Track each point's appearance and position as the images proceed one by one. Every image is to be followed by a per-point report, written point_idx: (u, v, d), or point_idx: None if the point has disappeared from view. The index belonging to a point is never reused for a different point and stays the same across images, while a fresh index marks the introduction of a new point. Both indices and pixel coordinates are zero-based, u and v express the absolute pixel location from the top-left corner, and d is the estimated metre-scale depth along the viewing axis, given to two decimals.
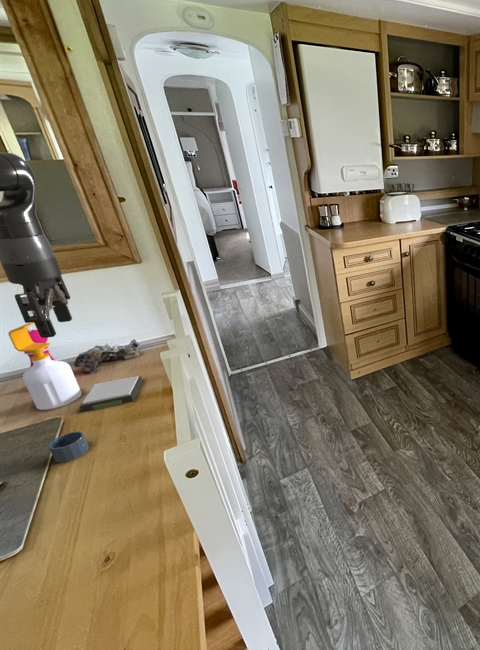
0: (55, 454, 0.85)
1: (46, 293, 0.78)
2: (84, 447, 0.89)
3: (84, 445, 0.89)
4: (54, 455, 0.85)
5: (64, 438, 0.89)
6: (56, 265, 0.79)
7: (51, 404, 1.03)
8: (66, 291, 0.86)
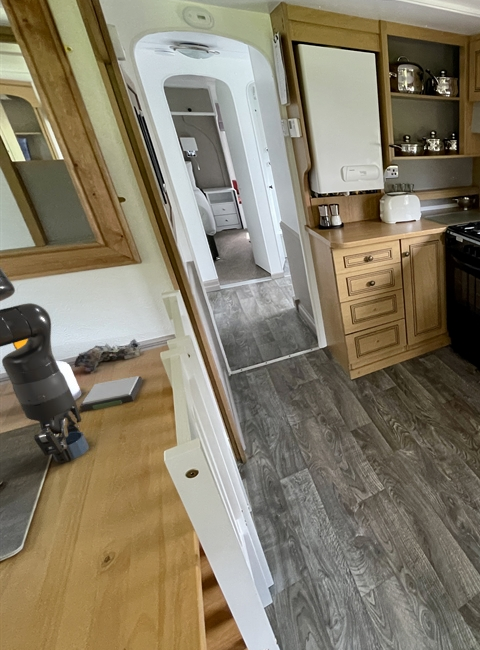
0: None
1: (61, 423, 0.84)
2: (84, 447, 0.89)
3: (84, 445, 0.89)
4: (54, 455, 0.85)
5: None
6: (70, 396, 0.85)
7: None
8: (78, 414, 0.91)
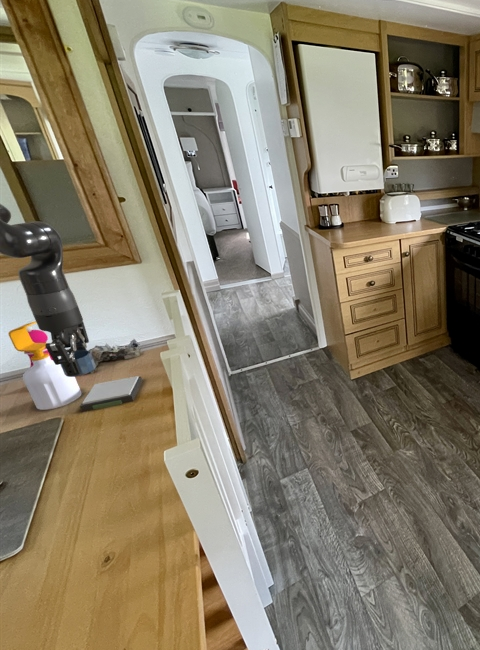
0: None
1: (70, 337, 0.91)
2: (91, 364, 0.96)
3: (90, 362, 0.96)
4: (64, 368, 0.93)
5: None
6: (79, 313, 0.92)
7: (51, 404, 1.03)
8: (86, 335, 0.99)
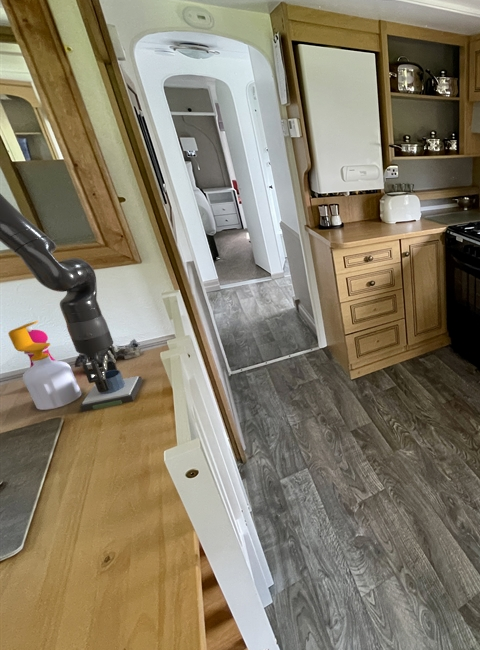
0: None
1: (103, 358, 1.03)
2: (121, 382, 1.08)
3: (121, 380, 1.08)
4: None
5: (105, 374, 1.08)
6: (110, 337, 1.04)
7: (51, 404, 1.03)
8: (114, 352, 1.11)
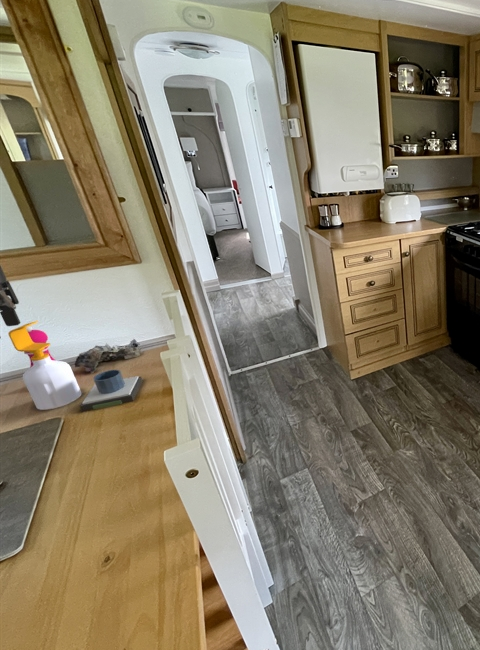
0: (99, 385, 1.05)
1: None
2: (121, 382, 1.08)
3: (121, 380, 1.08)
4: (98, 386, 1.05)
5: (105, 374, 1.08)
6: (0, 272, 0.82)
7: (51, 404, 1.03)
8: (14, 296, 0.89)
